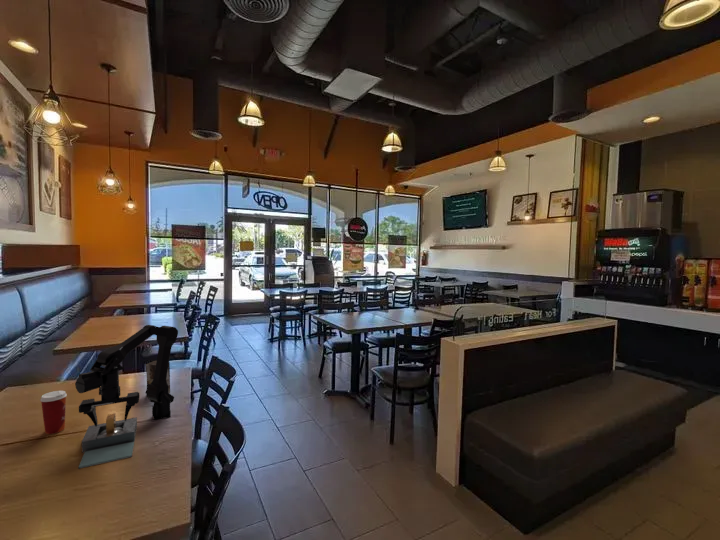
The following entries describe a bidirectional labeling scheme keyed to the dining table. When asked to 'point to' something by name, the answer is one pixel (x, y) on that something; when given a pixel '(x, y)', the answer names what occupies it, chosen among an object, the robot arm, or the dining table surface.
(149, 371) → the coffee box
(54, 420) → the coffee cup
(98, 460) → the mat
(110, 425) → the grey round brown-barred piece
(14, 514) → the dining table surface
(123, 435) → the housing
